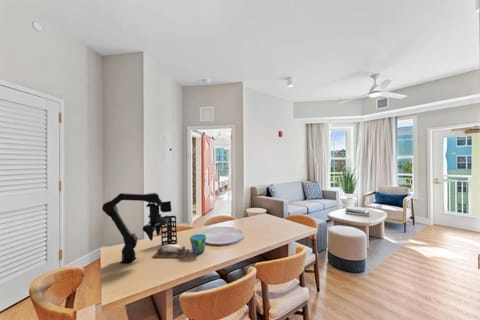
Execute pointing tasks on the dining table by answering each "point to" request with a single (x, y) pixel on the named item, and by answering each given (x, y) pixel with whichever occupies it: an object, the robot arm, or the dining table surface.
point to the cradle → (171, 253)
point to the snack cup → (198, 243)
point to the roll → (171, 248)
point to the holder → (169, 234)
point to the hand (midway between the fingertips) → (154, 237)
